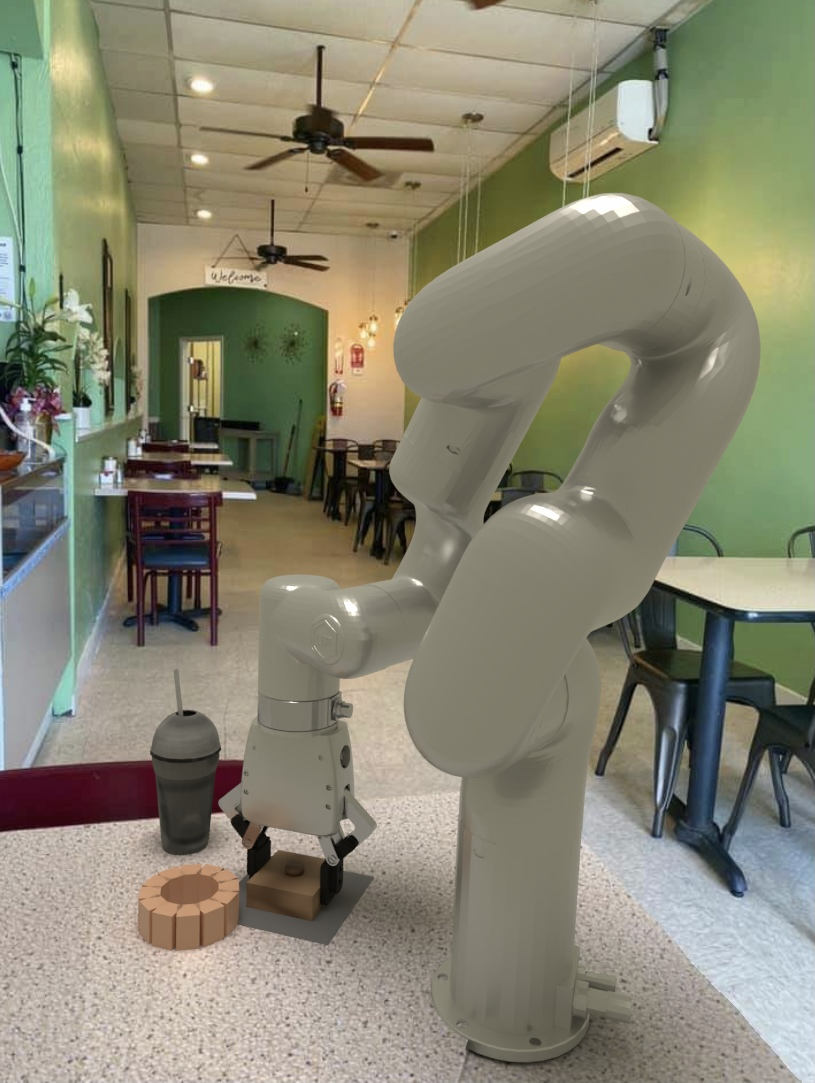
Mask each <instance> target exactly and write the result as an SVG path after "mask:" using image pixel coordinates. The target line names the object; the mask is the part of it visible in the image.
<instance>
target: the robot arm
mask: <svg viewBox="0 0 815 1083" xmlns="http://www.w3.org/2000/svg"><path fill="white" fill-rule="evenodd" d="M392 344H393V345H392V346H393V348H392V349H393V350H392V351H393V362H394V364H395V368H396V372H397V373H398V376H399V378H400V379H401V381H402V383H403V384H404V386H406V387H407V389H408V390H409V391H410V392H412V393H414V395H416V396H418V397H419V398H420V400H419V401H418V404H417V406H416V408H415V410H414V413H413V415H412V416H411V419H410V420H409V422H408V425H407V427H406V429H405V431H404V433H403V436H402V437H401V439H400V441H399V444H398V446H397V448H396V450H395V452H394V454H393V456H392V457H391V460H390V463H389V469H388V470H389V476H390V480H391V483H392V484H393V485H394V487H395V488H396V489H397V491H398V492H399V493H400V494H401V495H402V496H403V497H405V499H407V500H408V501H409V502H411V503H412V504H413V506H414V509H415V527H414V531H413V535H412V538H411V540H410V543H409V545H408V548H407V549H406V552H405V554H404V555H403V558H402V559H401V562H400V563H399V566H398V567H397V569H396V571H395V573H394V575H393V576H392V577H391V579H386V580H380V581H376V582H370V583H365V584H360V585H358V586H351V587H346V588H341V587H340V585H339V584H338V583H337V582H336V580H334V579H332V578H329V577H327V576H321V575H315V574H314V575H313V574H284V575H283V574H282V575H277V576H274V577H271V578H269V579H267V580H266V581H265V582H264V583H263V585H262V586H261V588H260V593H259V602H258V603H259V604H258V605H259V606H258V609H259V611H258V619H259V620H258V655H257V656H258V662H257V663H258V666H257V669H258V670H257V711H256V712H257V715H256V716H255V717H254V718H253V719H252V720H251V723H250V727H249V731H248V735H247V739H246V742H245V749H244V754H243V755H244V756H243V762H242V772H241V781H240V783H239V784H238V785H236V786H235V787H234V788H232V789H231V790H229V791H228V792H227V793H226V794H225V795H224V796H222V797H220V799H219V800H218V802H217V803H218V806H219V808H220V809H221V810H222V812H223V813H224V814H225V816H226V817H227V819H229V820H230V825H231V827H232V828H233V829H234V831H235V832H236V833H237V834H238V835H239V837H240V838H241V845H242V847H243V848H245V849H246V875H249V880H250V879H251V878H252V877H253V876H254V875H255V873H257V872H258V871H259V870H260V869H261V868H262V867H263V866H264V865H265V864H266V863H267V862H268V861H269V860H270V859H271V856H272V840H271V836H268V835H267V833H268V830H269V829H270V828H273V829H277V830H283V831H289V832H293V833H298V834H299V833H300V834H304V835H310V836H316V839H317V840H318V843H319V845H320V848H321V852H322V853H323V855H324V859H325V861H324V862H323V863H322V864H321V867H320V886H321V888H320V903H321V905H325V906H327V905H328V904H329V902H330V901H331V900H332V898H333V897H334V896H335V894H338V893H339V892H340V891H341V889H342V885H343V871H344V860H345V858H346V857H347V856H348V855H349V854H351V853H352V852H353V851H355V849H356V848H357V847H358V846H359V845H361V844H362V843H363V842H364V841H366V840H367V839H368V837H370V836H371V835H372V834H373V833H374V831H375V830H376V829H377V827H378V823H377V822H376V820H375V819H374V818H373V817H372V816H371V814H370V813H369V812H368V811H367V810H366V809H365V808H364V806H362V804H361V803H360V802H359V800H357V799H356V798H355V774H354V761H353V750H352V742H351V738H350V732H349V726H348V724H347V722H346V721H344V720H340V719H343V718H345V719H351V717H352V716H353V713H354V705H353V703H352V702H351V703H350V702H349V703H348V702H346V701H345V700H343V698H342V693H343V692H342V691H340V686H341V685H340V682H341V680H340V679H342V680H352V679H353V680H354V679H358V678H362V677H365V676H368V675H371V674H374V673H377V672H380V671H383V670H385V669H387V668H389V667H391V666H395V665H398V664H402V663H405V662H408V661H410V660H412V662H411V664H410V667H409V671H408V673H407V677H406V681H405V685H404V691H403V715H404V721H405V724H406V725H405V726H406V730H407V732H408V735H409V737H410V739H411V742H412V743H413V745H414V747H415V748H416V750H417V751H418V753H419V755H421V756H422V758H423V759H424V760H425V761H426V762H428V764H430V765H431V766H433V767H434V768H435V769H437V770H439V771H440V772H443V773H445V774H447V775H451V776H452V777H458V778H461V781H460V787H459V799H458V800H459V801H458V815H457V835H456V853H455V856H456V858H455V873H454V874H455V876H454V892H453V894H454V896H453V897H454V898H453V916H452V938H451V953H450V954H451V956H450V957H448V958H447V959H446V960H445V961H444V962H442V963H441V964H440V965H439V966H438V968H437V969H436V970H435V972H434V974H433V976H432V979H431V982H430V999H431V1002H432V1003H431V1004H432V1005H433V1008H434V1009H435V1012H436V1014H437V1015H438V1017H439V1018H440V1020H442V1021H443V1022H444V1024H445V1025H446V1026H447V1027H449V1028H450V1030H452V1031H453V1032H454V1033H456V1034H457V1035H458V1036H461V1037H462V1038H463V1039H465V1040H467V1042H466V1045H465V1048H467V1049H468V1050H470V1051H473V1052H474V1053H476V1054H478V1055H482V1056H484V1057H488V1058H489V1059H492V1060H498V1061H499V1060H500V1061H504V1062H511V1063H534V1062H544V1061H546V1060H551V1059H555V1058H558V1057H559V1056H562V1055H563V1054H564V1055H565V1054H566V1053H567V1052H570V1051H572V1049H573V1048H575V1047H576V1046H577V1045H578V1044H580V1043H581V1041H582V1040H583V1038H584V1037H585V1036H586V1034H587V1031H588V1028H589V1025H590V1016H591V1015H592V1016H597V1017H601V1018H605V1020H610V1021H613V1022H618V1023H622V1024H627V1025H630V1022H631V1009H632V1007H631V1006H632V995H630V994H625V993H620V992H616V989H617V976H616V975H612V974H608V973H603V972H595V971H590V970H587V966H584V965H580V954H581V947H580V946H578V945H575V938H576V937H575V935H576V925H577V924H576V921H577V908H578V907H577V906H578V891H579V877H580V865H581V864H580V863H581V862H580V860H581V848H582V847H581V845H582V832H583V826H584V811H585V810H584V809H585V796H586V787H587V777H588V769H589V762H590V757H591V750H592V747H593V741H594V736H595V732H596V728H597V727H596V726H597V722H598V716H599V711H600V705H601V695H602V694H601V693H602V679H601V678H602V677H601V670H600V665H599V661H598V658H597V655H596V653H595V651H594V650H595V649H594V648H593V647H592V644H591V643H590V642H589V639H588V638H587V637H588V636H589V635H590V634H591V632H594V631H595V630H598V629H601V628H602V627H605V626H607V625H609V624H612V623H614V622H617V621H618V620H620V619H622V618H623V617H625V616H626V615H628V614H629V613H631V612H632V611H633V610H635V609H636V608H637V607H638V606H639V605H640V604H641V603H642V602H643V600H644V598H645V597H646V596H647V594H648V593H649V591H650V590H651V587H652V585H653V584H654V582H655V580H656V578H657V576H658V574H659V572H660V570H661V568H662V566H663V564H664V562H665V560H666V558H667V557H668V555H669V553H670V551H671V550H672V548H673V546H674V544H675V543H676V541H677V539H678V538H679V536H680V533H682V530H683V529H684V527H685V526H686V523H687V521H688V520H689V518H690V517H691V514H692V513H693V512H694V509H695V507H696V506H697V504H698V502H699V500H700V497H702V494H703V492H704V490H705V488H706V486H707V485H708V482H709V481H710V479H711V477H712V476H713V474H714V471H715V470H716V468H717V467H718V465H719V463H720V461H721V459H722V457H723V456H724V455H725V453H726V450H727V449H728V447H729V445H730V443H731V441H732V440H733V438H734V436H735V434H736V433H737V431H738V429H739V426H740V425H741V423H742V421H743V419H744V417H745V415H746V412H747V410H748V407H749V405H750V403H751V400H752V397H753V394H754V391H755V388H756V385H757V381H758V377H759V371H760V365H761V364H760V363H761V336H760V330H759V323H758V319H757V316H756V313H755V309H754V308H753V306H752V303H751V301H750V298H749V296H748V295H747V293H746V291H745V289H744V288H743V286H742V284H740V282H739V280H738V279H737V278H736V276H735V275H734V273H733V272H732V271H731V270H730V268H729V267H728V266H727V265H726V263H725V262H724V261H723V259H721V258H720V257H719V256H718V255H717V254H716V253H715V251H714V250H712V248H711V247H710V246H708V245H707V244H706V243H705V242H704V241H703V240H701V239H700V238H699V237H698V236H696V234H694V233H693V232H691V231H690V230H689V229H687V228H686V227H684V226H683V225H682V224H680V223H679V222H678V221H677V220H675V219H674V218H673V217H672V216H670V215H669V214H668V213H667V212H666V211H664V210H663V209H662V208H660V207H659V206H658V205H656V204H654V203H652V202H650V201H649V200H646V199H645V198H643V197H641V196H636V195H633V194H628V193H624V192H607V193H606V192H604V193H598V194H595V195H591V196H588V197H587V196H586V197H583V198H580V199H577V200H575V201H572V202H570V203H568V204H566V205H563V206H562V207H560V208H558V209H556V210H554V211H552V212H550V213H548V214H547V215H544V216H542V217H541V218H539V219H537V220H535V221H534V222H532V223H530V224H529V225H527V226H525V227H523V228H521V229H519V230H517V231H516V232H513V233H512V234H510V235H508V236H507V237H505V238H503V239H501V240H498V241H497V242H495V243H494V244H491V245H489V246H488V247H485V248H484V249H482V250H481V251H479V252H477V253H475V254H473V255H472V256H470V257H468V258H465V259H464V260H463V261H460V262H459V263H457V264H455V265H454V266H452V267H450V268H448V269H447V270H445V271H444V272H442V273H441V274H440V275H438V276H436V277H435V278H434V279H433V280H432V281H430V282H428V283H427V284H426V285H425V286H423V287H422V288H421V290H419V291H418V293H416V295H415V296H414V297H413V298H411V300H410V302H409V303H408V304H407V305H406V307H405V309H404V311H403V313H402V315H401V316H400V317H399V320H398V322H397V325H396V328H395V333H394V337H393V342H392ZM595 345H599V346H603V347H606V348H608V349H611V350H615V351H618V352H623V353H625V354H626V355H627V356H628V358H629V360H630V365H629V366H630V367H629V371H628V374H627V376H626V378H625V380H624V381H623V382H622V384H621V386H620V387H619V388H618V390H617V391H616V392H615V393H614V395H613V396H612V397H611V399H609V401H608V402H607V403H606V405H605V406H604V408H603V409H602V411H601V412H600V414H599V415H598V417H597V419H596V420H595V422H594V424H593V426H592V428H591V430H590V432H589V434H588V435H587V438H586V441H585V443H584V446H583V447H582V450H581V451H580V453H579V454H578V456H577V458H576V460H575V462H574V463H573V466H572V467H571V469H570V471H569V472H568V474H567V476H566V477H565V479H564V480H563V482H562V483H561V485H560V486H559V488H557V490H555V491H554V492H551V491H550V492H544V493H543V492H542V493H535V494H529V495H526V496H523V497H520V498H518V499H516V500H514V501H511V502H509V503H507V504H506V505H504V506H502V507H501V508H500V509H498V510H497V511H495V512H494V514H492V515H491V516H490V517H489V518H487V520H486V521H485V522H484V517H485V512H486V510H487V508H488V506H489V504H490V503H491V500H492V498H493V496H494V494H495V492H496V490H497V489H498V486H499V485H500V483H501V481H502V479H503V478H504V475H505V473H506V471H507V470H508V468H509V466H510V464H511V462H512V460H513V459H514V456H515V454H517V451H518V449H519V447H520V445H521V443H522V442H523V440H524V438H525V436H526V434H527V433H528V431H529V429H530V427H531V425H532V423H533V422H534V420H535V417H536V416H537V414H538V412H539V410H540V408H541V406H542V404H543V403H544V401H545V398H546V397H547V395H548V393H549V392H550V389H551V387H552V386H553V384H554V381H555V379H556V376H557V374H558V371H559V368H560V365H561V361H562V358H564V357H567V356H570V355H572V354H575V353H577V352H579V351H582V350H585V349H587V348H590V347H592V346H595ZM343 820H349V821H350V822H351V823H352V824H353V826H354V830H352V831H351V832H350V833H349V834H347V835H345V832H344V830H343V828H342V824H341V823H340V822H342V821H343ZM440 977H444V978H446V979H444V980H441V979H440ZM458 1024H465V1025H466V1026H465V1027H460V1026H458Z"/></svg>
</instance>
